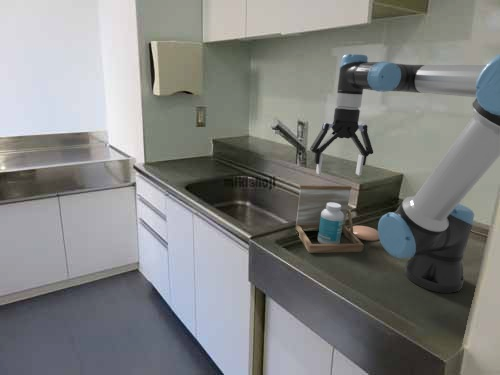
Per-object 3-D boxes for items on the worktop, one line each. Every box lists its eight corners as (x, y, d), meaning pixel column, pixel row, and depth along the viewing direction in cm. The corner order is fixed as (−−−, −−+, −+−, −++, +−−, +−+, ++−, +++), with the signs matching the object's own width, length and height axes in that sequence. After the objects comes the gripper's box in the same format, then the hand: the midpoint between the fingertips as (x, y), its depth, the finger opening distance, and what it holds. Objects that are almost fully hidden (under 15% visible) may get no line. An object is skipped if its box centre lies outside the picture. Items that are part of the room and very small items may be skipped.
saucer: (386, 240, 127) (386, 239, 127) (356, 240, 125) (357, 239, 125) (371, 227, 137) (372, 225, 137) (344, 227, 135) (344, 225, 135)
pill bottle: (339, 248, 119) (346, 210, 115) (316, 245, 120) (322, 207, 116) (339, 238, 126) (345, 202, 122) (317, 235, 127) (322, 199, 123)
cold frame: (365, 252, 118) (375, 202, 113) (308, 253, 115) (315, 202, 109) (346, 230, 133) (353, 185, 128) (294, 230, 130) (299, 185, 124)
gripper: (380, 108, 118) (369, 171, 124) (305, 104, 114) (298, 170, 121) (391, 111, 111) (379, 178, 117) (311, 107, 107) (304, 176, 114)
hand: (338, 174), depth 119 cm, fingers open, 13 cm apart
